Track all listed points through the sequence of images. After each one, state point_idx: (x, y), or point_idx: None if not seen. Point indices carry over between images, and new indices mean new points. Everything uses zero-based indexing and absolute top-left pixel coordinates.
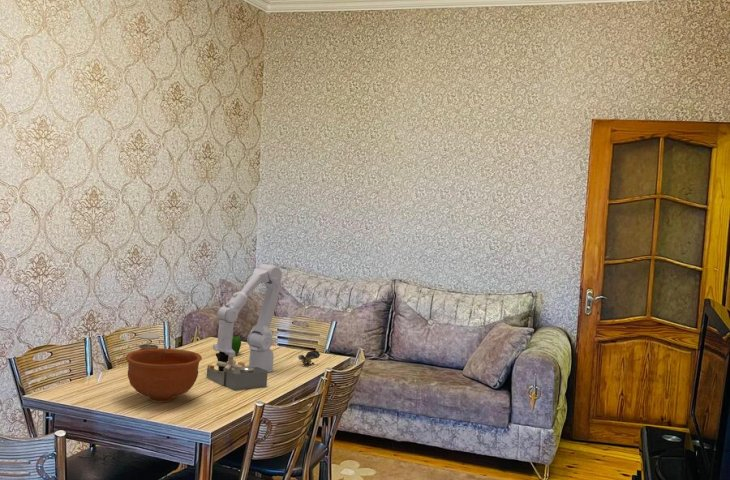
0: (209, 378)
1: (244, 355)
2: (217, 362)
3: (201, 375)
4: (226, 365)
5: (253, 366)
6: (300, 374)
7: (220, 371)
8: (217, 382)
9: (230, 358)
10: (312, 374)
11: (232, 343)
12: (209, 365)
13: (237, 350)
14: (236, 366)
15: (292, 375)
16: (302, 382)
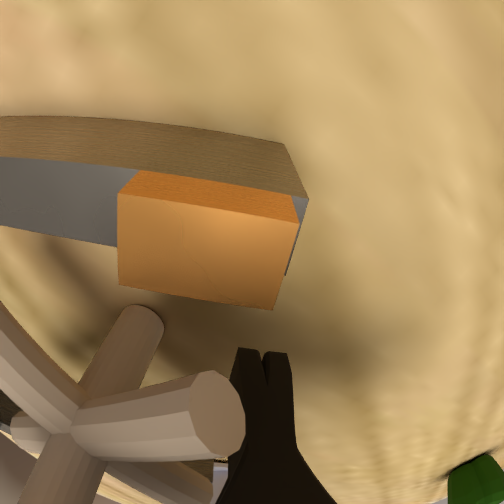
0: (191, 129)
1: (427, 484)
2: (180, 419)
3: (405, 172)
4: (77, 413)
5: (214, 492)
6: (115, 490)
7: (240, 349)
8: (4, 117)
9: (19, 500)
10: (107, 495)
11: (469, 502)
12: (227, 232)
13: (449, 488)
14: (26, 427)
15: (107, 480)
16: (12, 440)
